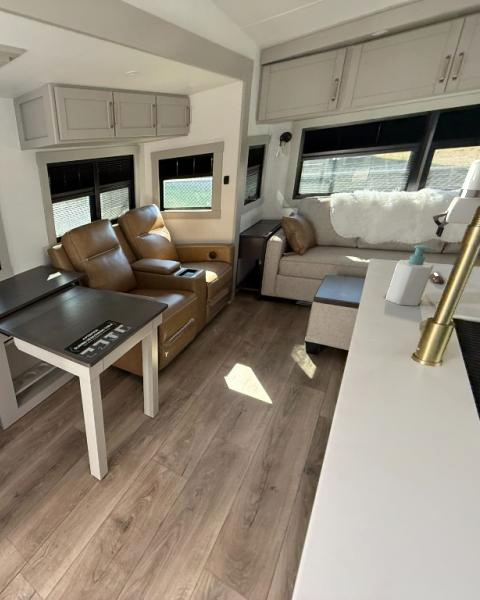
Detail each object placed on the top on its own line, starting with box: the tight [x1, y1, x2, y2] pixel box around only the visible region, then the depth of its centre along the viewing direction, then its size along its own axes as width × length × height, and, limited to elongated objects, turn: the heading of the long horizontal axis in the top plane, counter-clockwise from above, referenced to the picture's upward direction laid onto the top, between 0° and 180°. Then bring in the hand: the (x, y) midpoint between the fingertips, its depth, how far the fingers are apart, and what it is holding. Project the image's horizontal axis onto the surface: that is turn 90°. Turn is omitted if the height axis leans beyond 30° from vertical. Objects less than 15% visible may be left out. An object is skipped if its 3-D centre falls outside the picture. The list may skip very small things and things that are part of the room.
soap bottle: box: [385, 244, 436, 307], centre depth 120 cm, size 10×9×22 cm
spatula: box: [429, 272, 445, 285], centre depth 140 cm, size 18×6×3 cm, turn 146°
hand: (455, 237), depth 131 cm, fingers open, 9 cm apart
